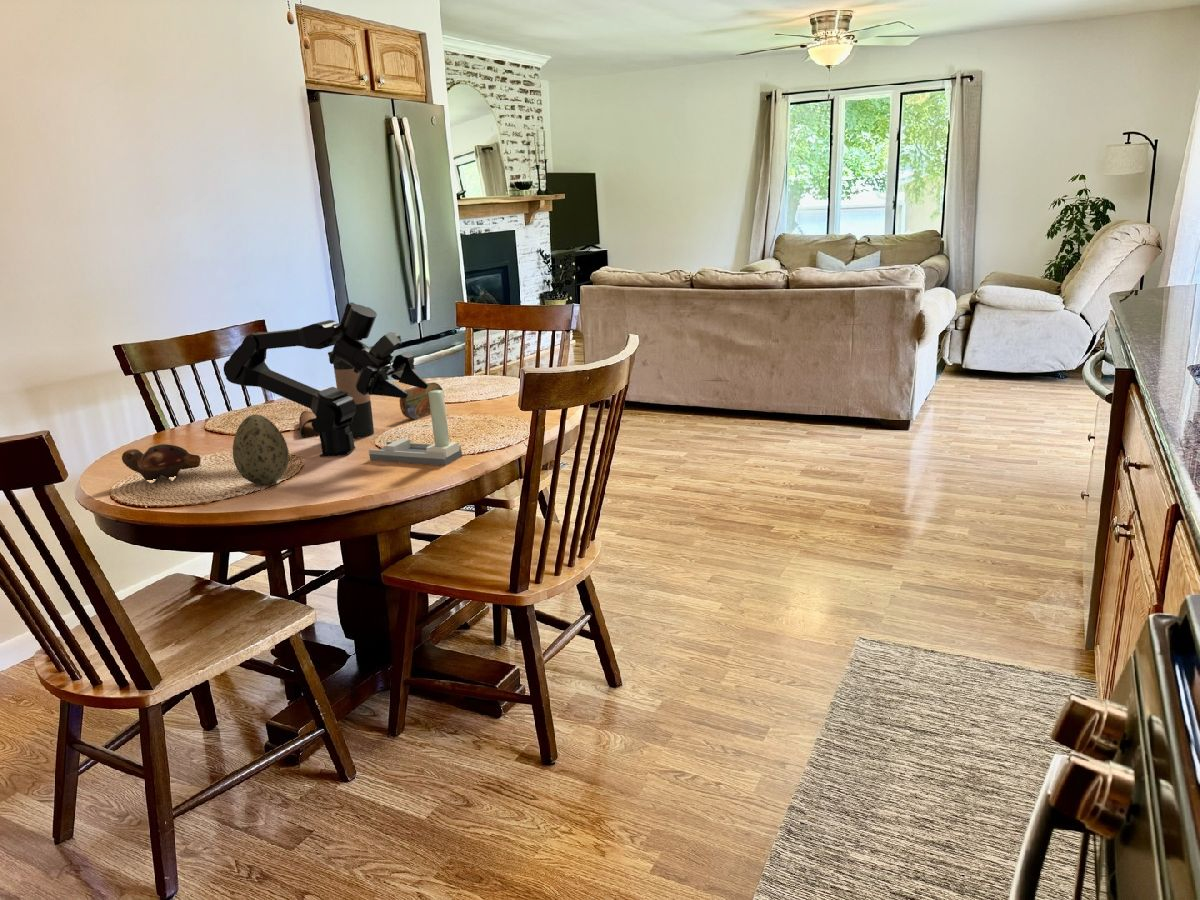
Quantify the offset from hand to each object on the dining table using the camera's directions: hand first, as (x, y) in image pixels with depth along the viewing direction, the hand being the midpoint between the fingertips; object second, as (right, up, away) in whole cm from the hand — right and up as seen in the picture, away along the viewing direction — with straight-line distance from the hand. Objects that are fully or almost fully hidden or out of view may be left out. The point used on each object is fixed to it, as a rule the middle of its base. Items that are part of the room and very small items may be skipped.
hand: (417, 391), depth 184 cm
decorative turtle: (-56, -20, 0) cm, 59 cm away
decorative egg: (-30, -20, -9) cm, 37 cm away
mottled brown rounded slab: (-8, -4, +43) cm, 44 cm away
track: (-1, -15, +2) cm, 15 cm away
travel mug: (-20, -9, +26) cm, 35 cm away
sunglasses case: (-35, -8, +36) cm, 51 cm away
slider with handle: (+6, -14, -1) cm, 15 cm away
